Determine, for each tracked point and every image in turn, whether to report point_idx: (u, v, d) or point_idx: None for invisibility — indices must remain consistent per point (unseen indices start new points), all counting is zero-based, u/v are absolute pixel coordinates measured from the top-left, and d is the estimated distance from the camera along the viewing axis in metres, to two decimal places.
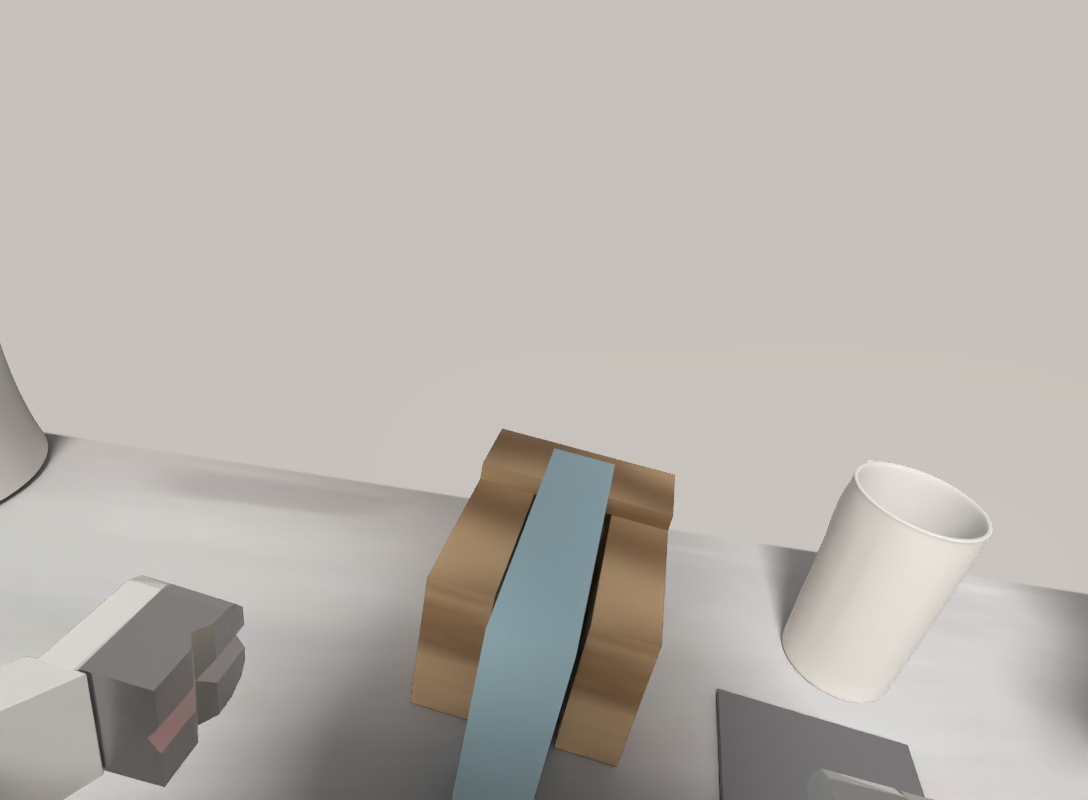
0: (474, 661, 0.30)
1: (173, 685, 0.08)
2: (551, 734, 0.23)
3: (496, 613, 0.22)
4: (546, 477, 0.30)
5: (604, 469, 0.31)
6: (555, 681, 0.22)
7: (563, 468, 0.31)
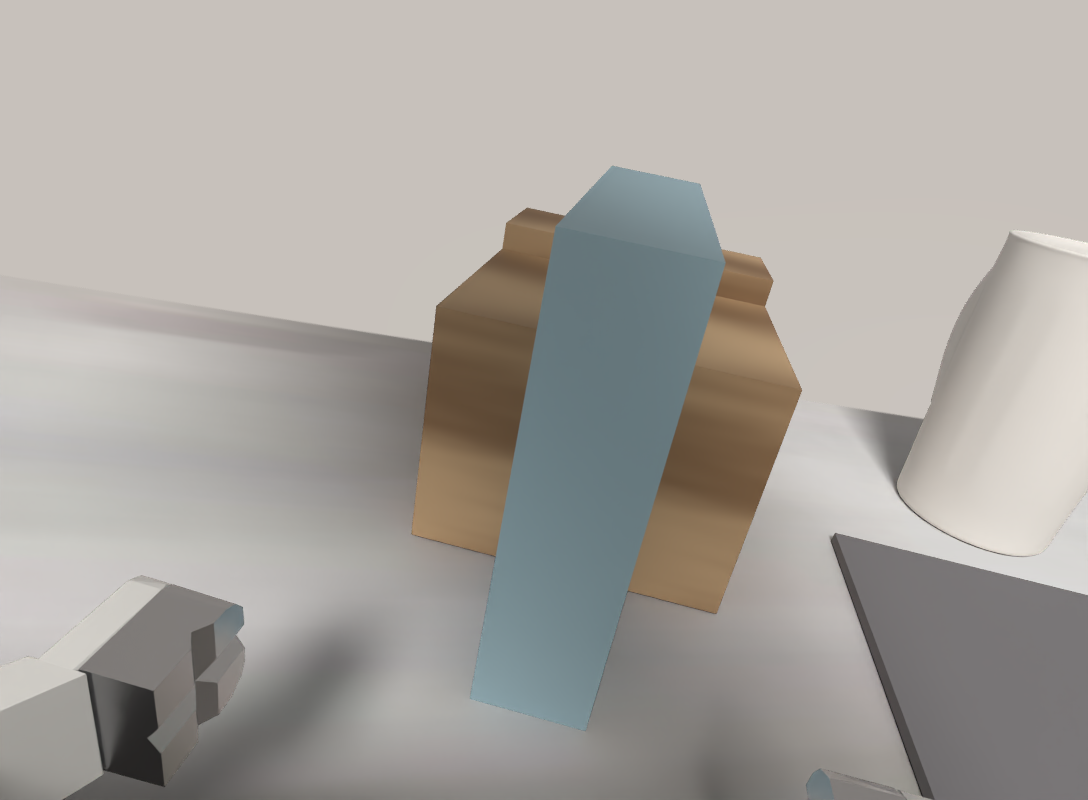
0: (507, 451, 0.20)
1: (173, 685, 0.08)
2: (665, 455, 0.13)
3: (570, 221, 0.12)
4: (609, 174, 0.20)
5: (688, 183, 0.22)
6: (681, 332, 0.12)
7: (630, 174, 0.21)
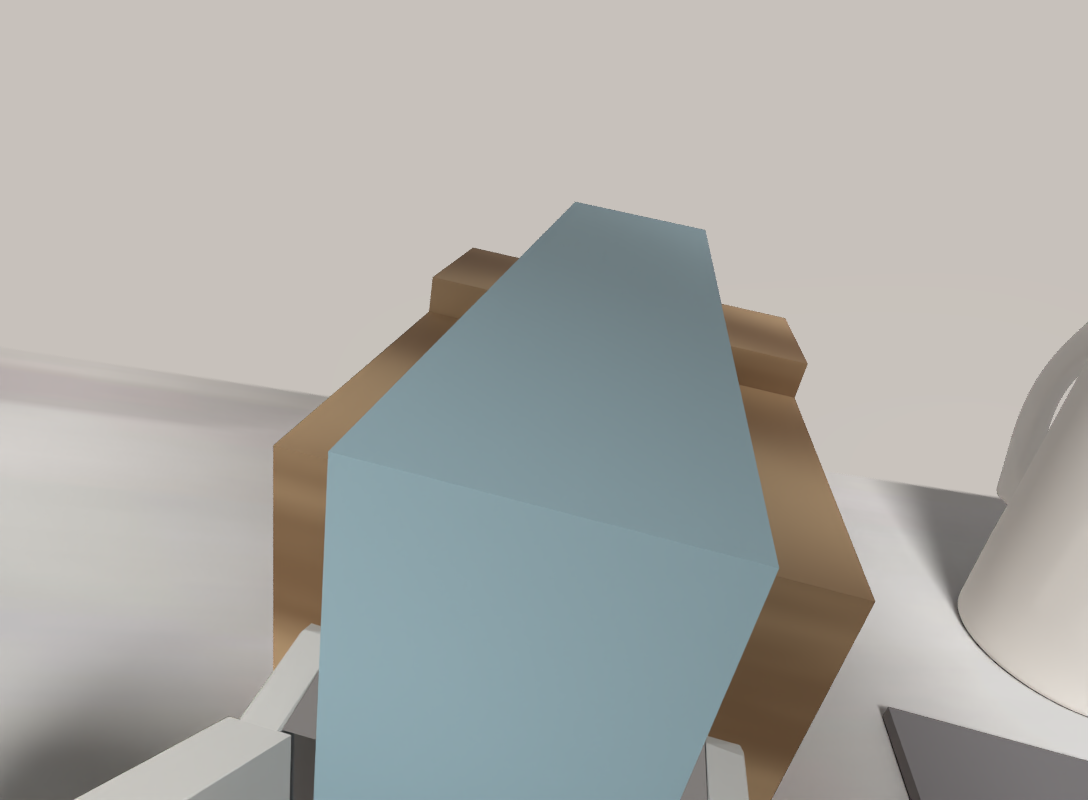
0: None
1: None
2: None
3: (393, 409, 0.05)
4: (563, 222, 0.13)
5: (687, 231, 0.14)
6: (659, 701, 0.05)
7: (599, 219, 0.14)
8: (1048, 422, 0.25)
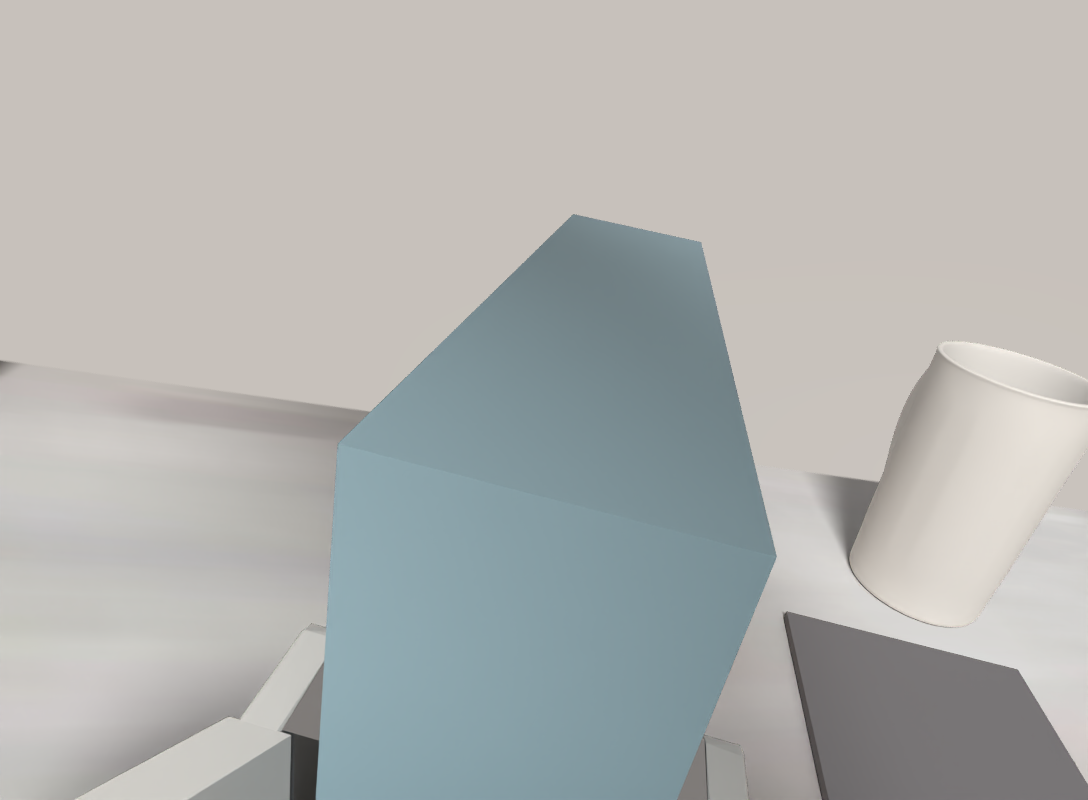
0: None
1: None
2: None
3: (399, 406, 0.05)
4: (562, 233, 0.13)
5: (683, 243, 0.15)
6: (660, 692, 0.05)
7: (597, 231, 0.14)
8: None
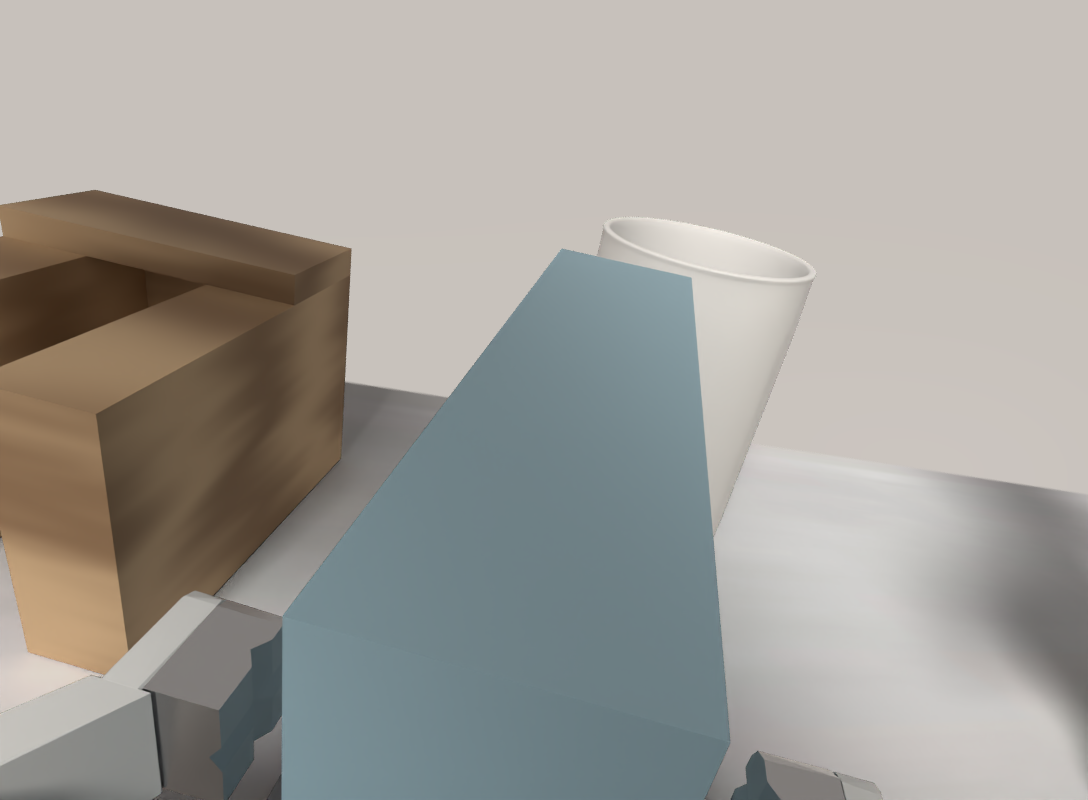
0: None
1: (235, 703, 0.08)
2: None
3: (353, 552, 0.05)
4: (547, 277, 0.13)
5: (672, 281, 0.14)
6: None
7: (584, 271, 0.14)
8: None
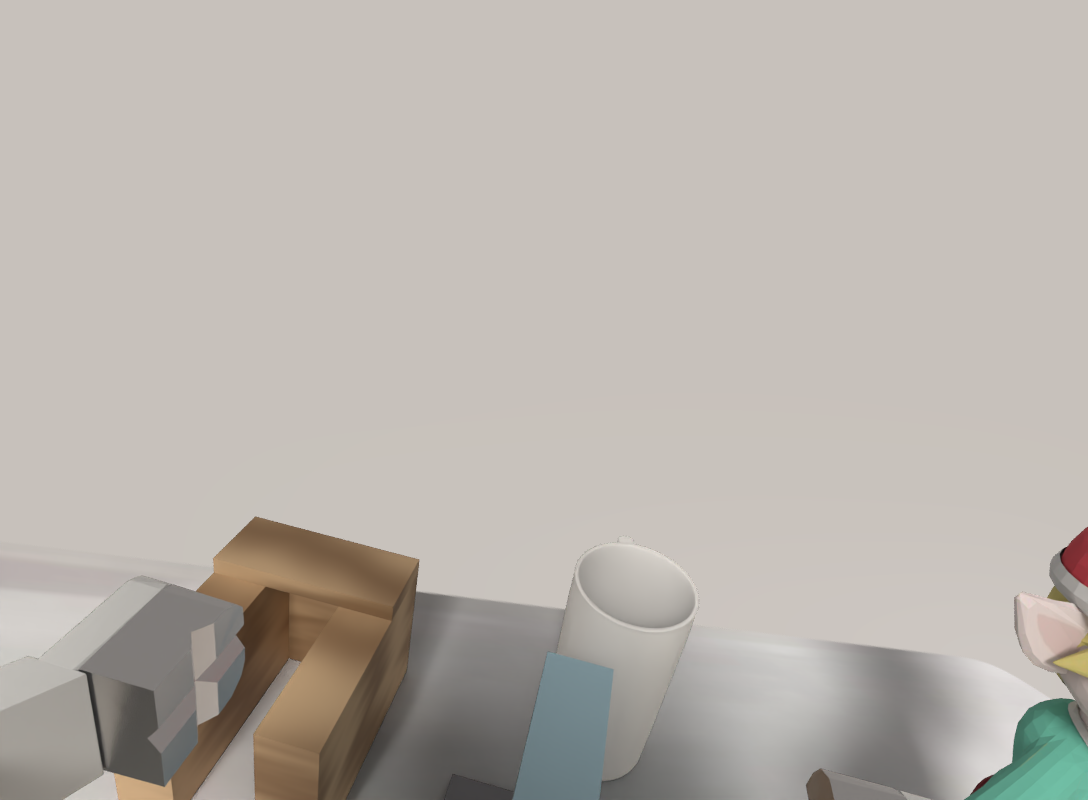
0: None
1: (173, 685, 0.08)
2: None
3: None
4: (539, 699, 0.27)
5: (602, 679, 0.29)
6: None
7: (558, 682, 0.28)
8: None
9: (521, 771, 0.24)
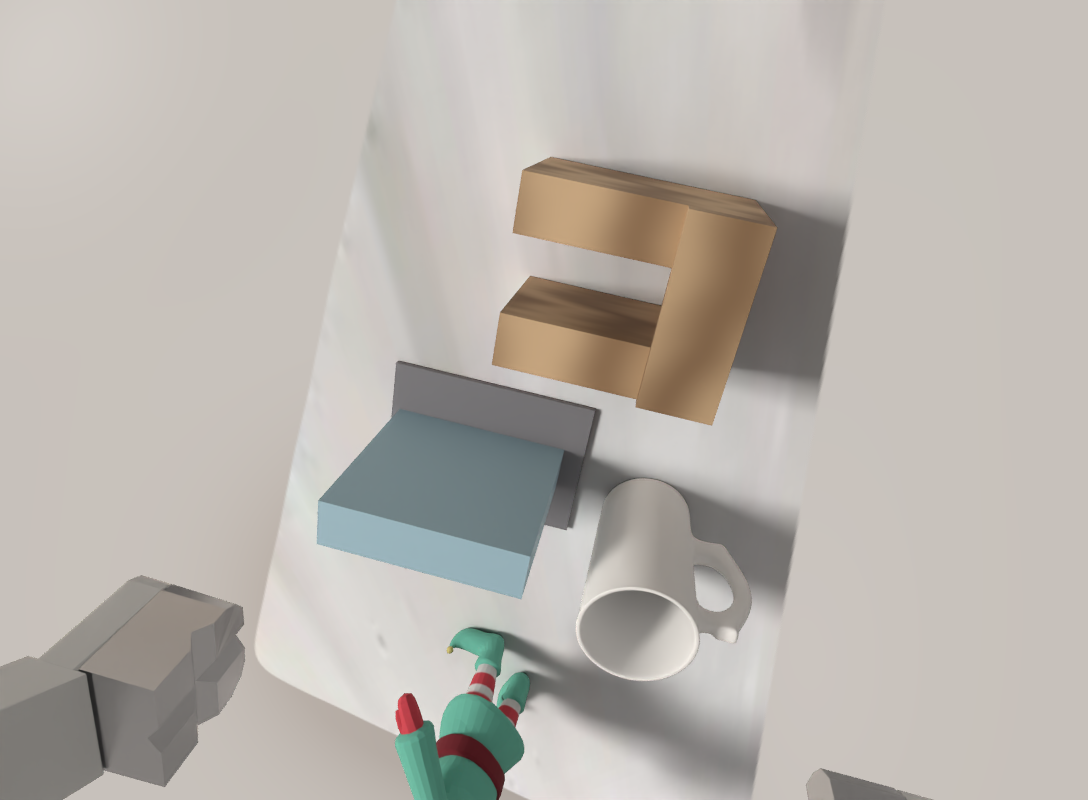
0: None
1: (173, 685, 0.08)
2: None
3: (331, 506, 0.36)
4: (482, 546, 0.36)
5: (509, 589, 0.36)
6: None
7: (500, 560, 0.36)
8: (730, 585, 0.41)
9: (424, 529, 0.36)
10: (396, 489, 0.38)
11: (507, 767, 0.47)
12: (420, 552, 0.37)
